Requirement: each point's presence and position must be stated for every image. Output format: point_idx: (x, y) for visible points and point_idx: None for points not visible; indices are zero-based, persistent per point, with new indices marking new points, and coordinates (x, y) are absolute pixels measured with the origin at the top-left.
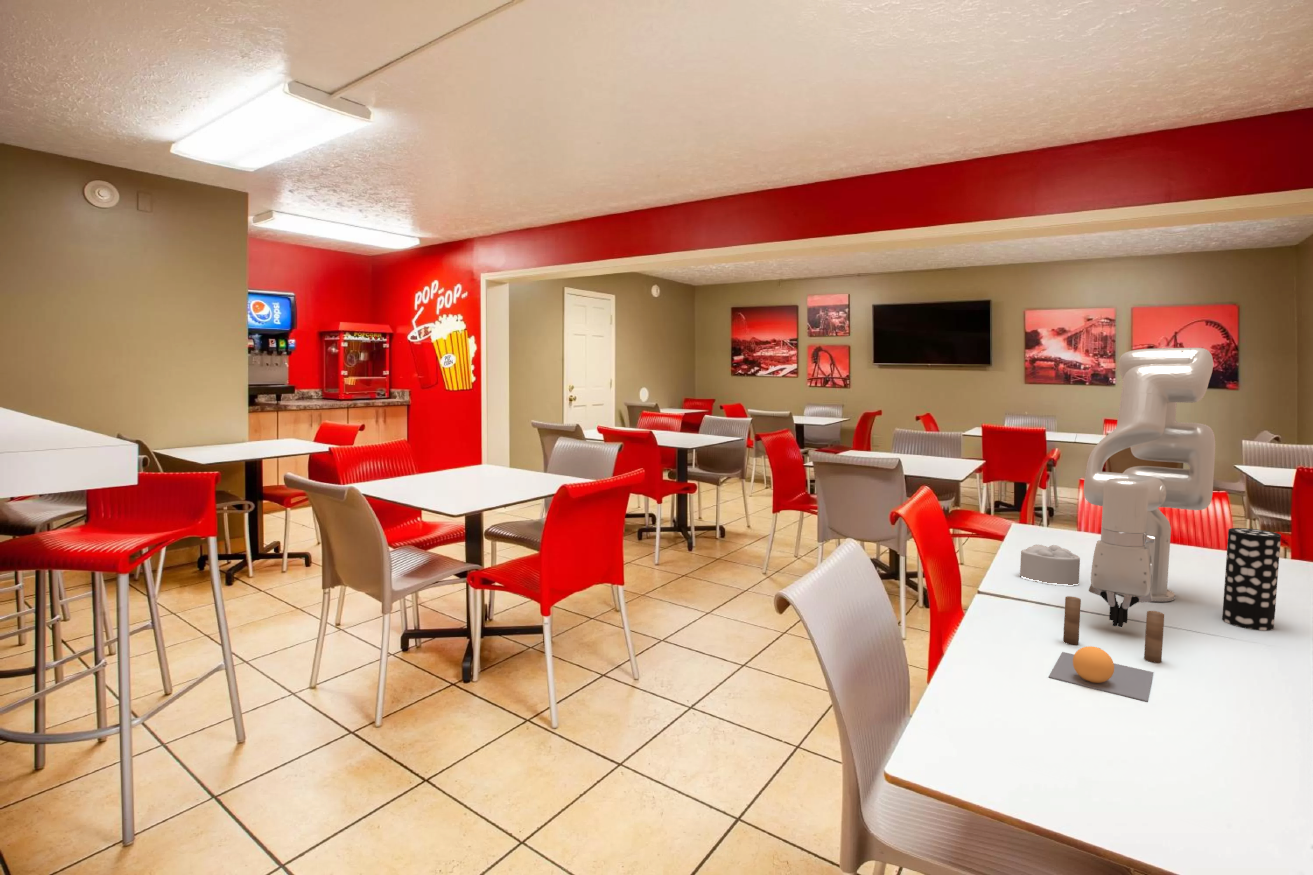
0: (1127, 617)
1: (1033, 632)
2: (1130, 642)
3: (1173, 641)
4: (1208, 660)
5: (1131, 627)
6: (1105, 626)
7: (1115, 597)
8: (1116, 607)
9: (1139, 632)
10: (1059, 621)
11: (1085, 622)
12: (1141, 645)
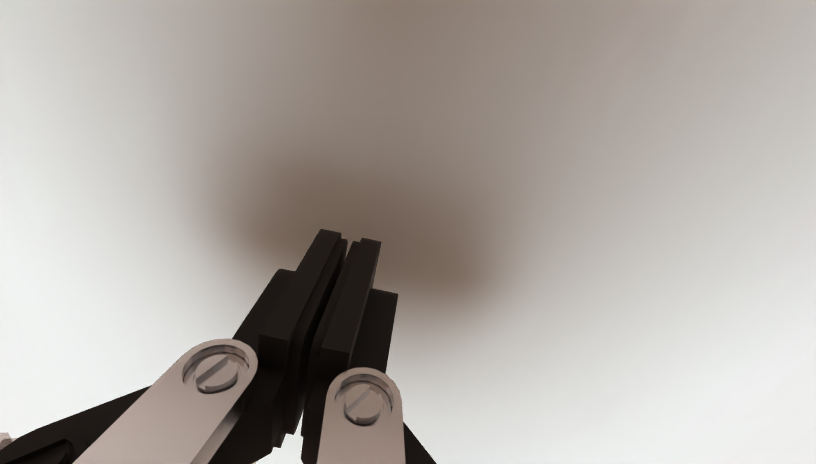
0: (395, 309)
1: (34, 397)
2: (403, 376)
3: (647, 288)
4: (679, 454)
5: (460, 107)
6: (287, 173)
7: (216, 445)
8: (279, 438)
9: (489, 204)
10: (34, 200)
11: (162, 142)
12: (445, 393)
